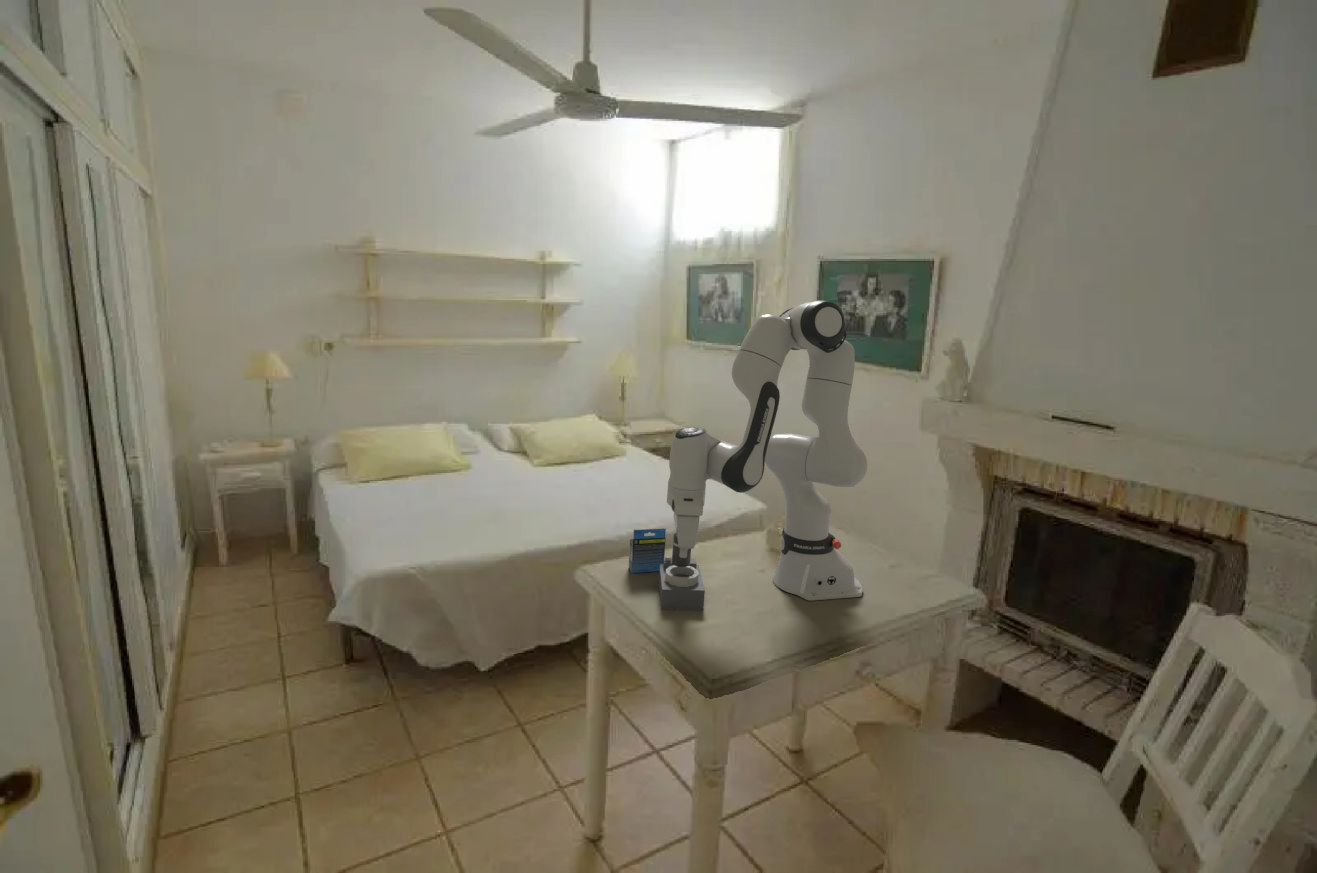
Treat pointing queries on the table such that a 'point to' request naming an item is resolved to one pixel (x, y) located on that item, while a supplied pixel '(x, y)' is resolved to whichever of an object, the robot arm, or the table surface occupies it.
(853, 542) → the table surface
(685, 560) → the lens
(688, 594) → the camera body
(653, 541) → the label tape box
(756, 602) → the table surface
